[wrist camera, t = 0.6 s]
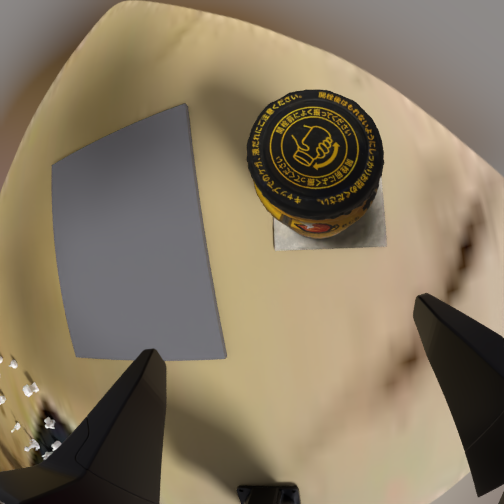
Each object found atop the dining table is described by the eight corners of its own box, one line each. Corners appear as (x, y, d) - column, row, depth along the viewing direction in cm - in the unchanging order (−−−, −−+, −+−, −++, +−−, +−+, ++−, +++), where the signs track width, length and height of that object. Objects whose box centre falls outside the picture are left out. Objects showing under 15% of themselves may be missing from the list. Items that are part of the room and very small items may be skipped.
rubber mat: (227, 356, 23) (225, 358, 23) (79, 355, 27) (76, 357, 27) (187, 106, 24) (185, 103, 23) (55, 166, 28) (51, 165, 27)
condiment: (270, 157, 22) (223, 78, 10) (377, 152, 20) (425, 71, 9) (275, 250, 22) (227, 257, 11) (386, 246, 20) (455, 248, 9)
